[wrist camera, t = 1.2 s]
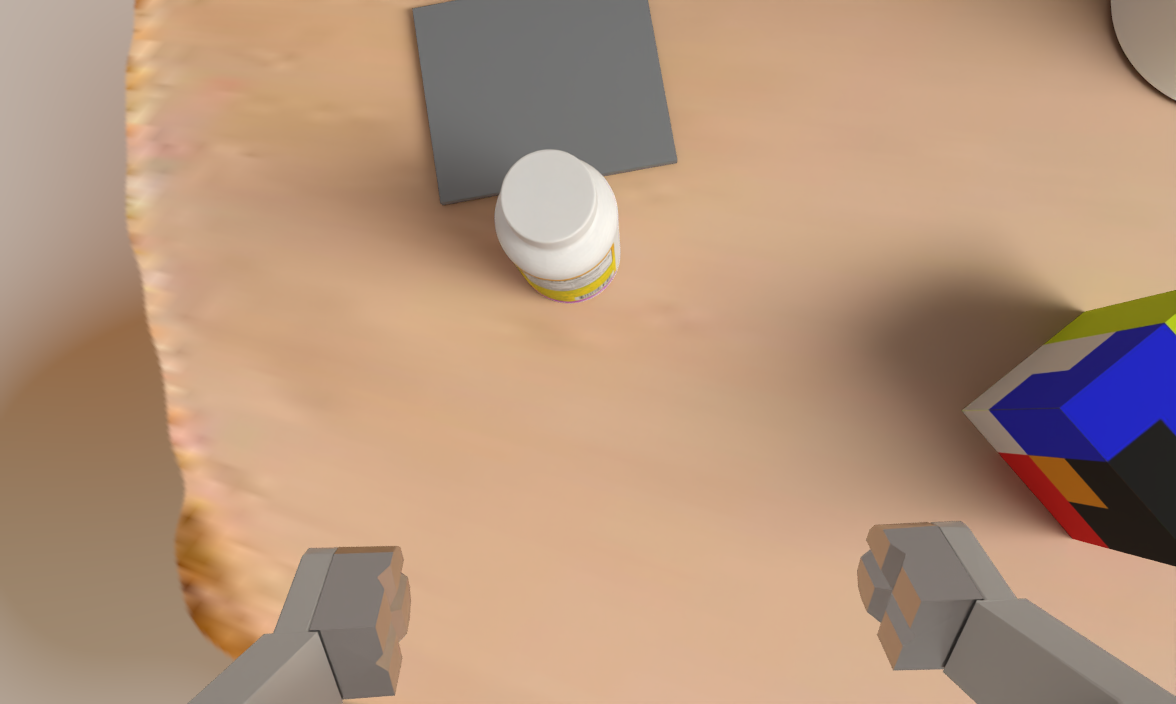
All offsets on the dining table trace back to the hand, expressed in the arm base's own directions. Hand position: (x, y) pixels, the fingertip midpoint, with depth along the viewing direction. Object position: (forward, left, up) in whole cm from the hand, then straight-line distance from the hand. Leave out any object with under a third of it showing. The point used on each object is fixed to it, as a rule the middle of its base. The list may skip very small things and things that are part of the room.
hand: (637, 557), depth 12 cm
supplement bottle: (-4, -13, -33) cm, 36 cm away
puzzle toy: (-24, +14, -33) cm, 43 cm away
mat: (-9, -24, -33) cm, 41 cm away
